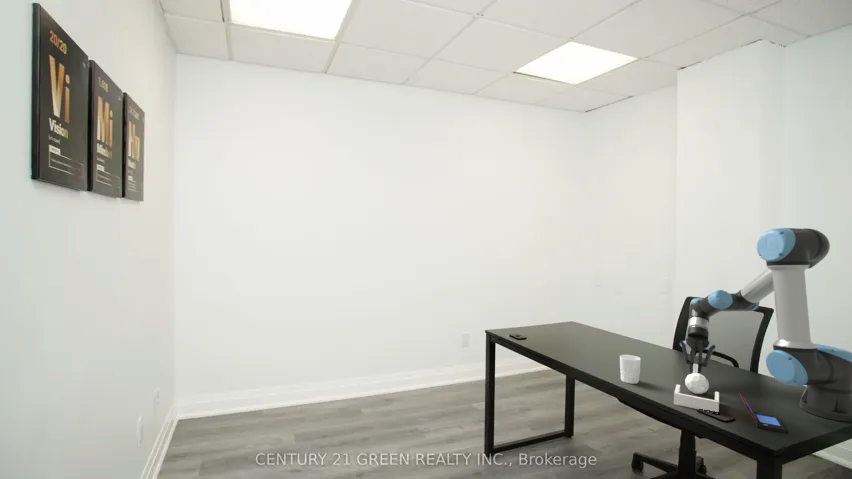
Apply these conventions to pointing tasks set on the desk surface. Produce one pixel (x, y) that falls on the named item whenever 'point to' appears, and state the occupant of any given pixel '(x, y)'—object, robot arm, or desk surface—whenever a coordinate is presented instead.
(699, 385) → the geometric ball
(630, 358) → the white cup
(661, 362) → the desk surface
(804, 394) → the robot arm
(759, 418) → the handheld game console
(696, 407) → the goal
